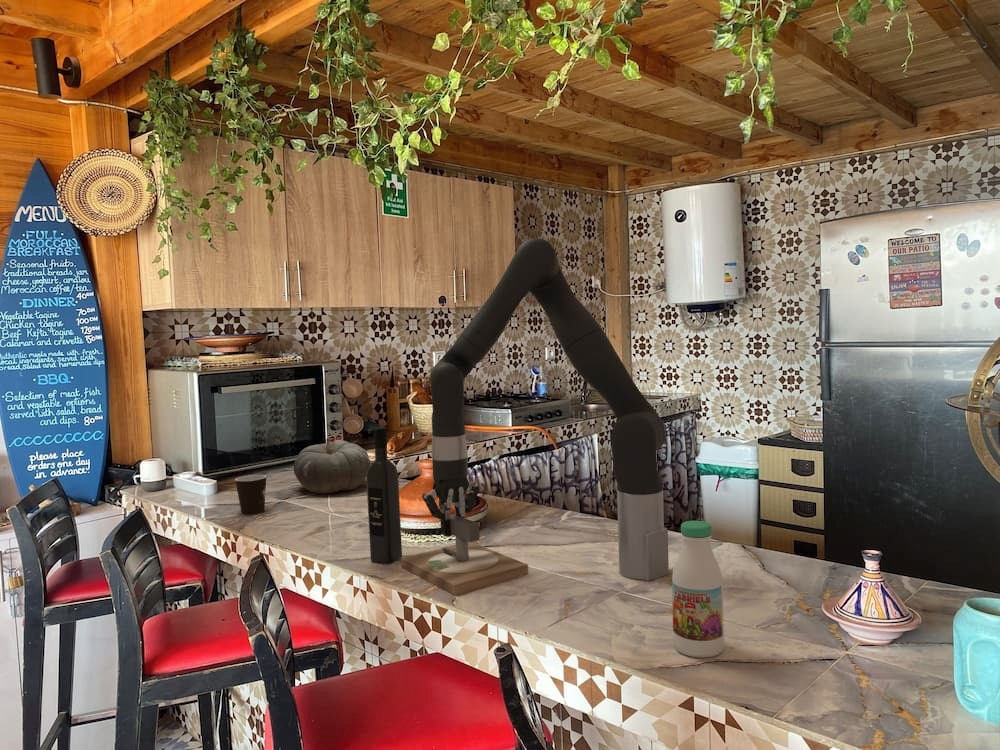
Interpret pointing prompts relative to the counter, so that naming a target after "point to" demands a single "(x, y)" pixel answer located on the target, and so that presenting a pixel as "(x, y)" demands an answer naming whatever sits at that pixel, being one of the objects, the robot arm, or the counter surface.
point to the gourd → (331, 467)
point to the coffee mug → (251, 493)
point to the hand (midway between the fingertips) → (453, 534)
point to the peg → (462, 536)
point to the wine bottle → (383, 504)
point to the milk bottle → (697, 594)
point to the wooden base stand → (464, 568)
